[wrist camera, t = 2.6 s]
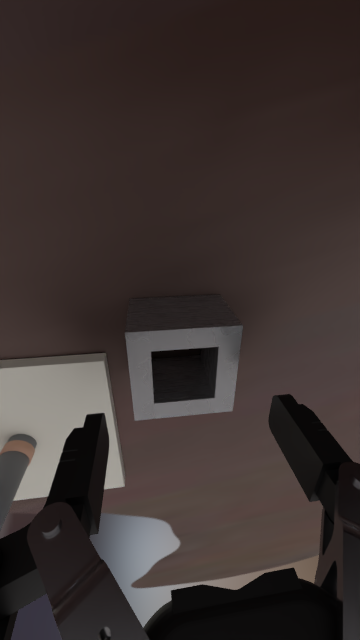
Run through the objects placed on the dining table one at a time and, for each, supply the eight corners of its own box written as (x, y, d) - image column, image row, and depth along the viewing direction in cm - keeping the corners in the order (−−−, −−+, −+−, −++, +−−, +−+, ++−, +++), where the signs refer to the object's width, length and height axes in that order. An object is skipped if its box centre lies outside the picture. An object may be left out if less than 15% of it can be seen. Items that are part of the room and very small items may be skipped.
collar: (129, 298, 17) (124, 332, 13) (220, 294, 17) (243, 325, 13) (136, 373, 19) (134, 420, 15) (214, 367, 20) (232, 410, 16)
